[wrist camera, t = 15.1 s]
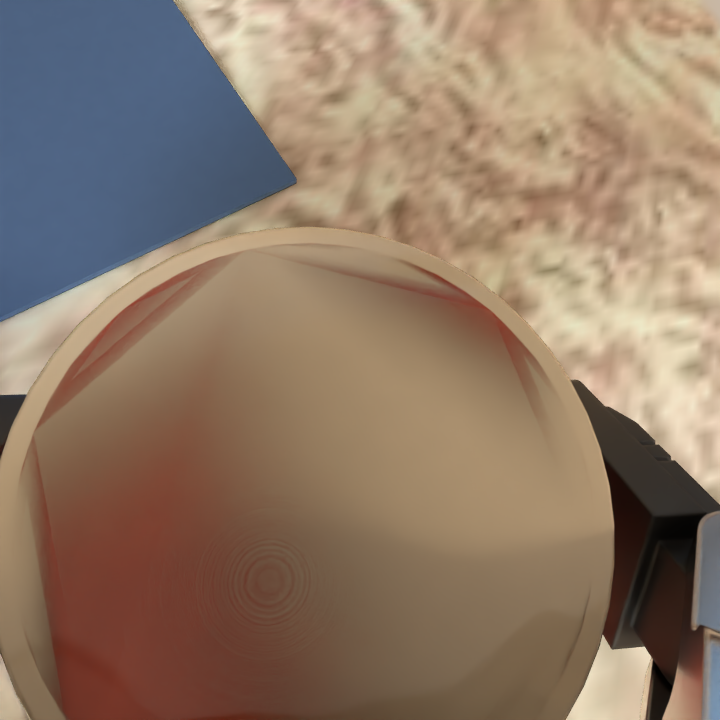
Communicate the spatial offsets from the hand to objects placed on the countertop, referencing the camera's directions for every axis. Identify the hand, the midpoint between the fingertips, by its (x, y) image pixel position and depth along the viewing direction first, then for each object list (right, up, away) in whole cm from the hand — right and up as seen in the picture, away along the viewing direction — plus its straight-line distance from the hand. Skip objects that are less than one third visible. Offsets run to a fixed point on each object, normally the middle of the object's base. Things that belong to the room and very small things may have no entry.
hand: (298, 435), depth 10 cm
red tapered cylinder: (0, -3, +4) cm, 5 cm away
